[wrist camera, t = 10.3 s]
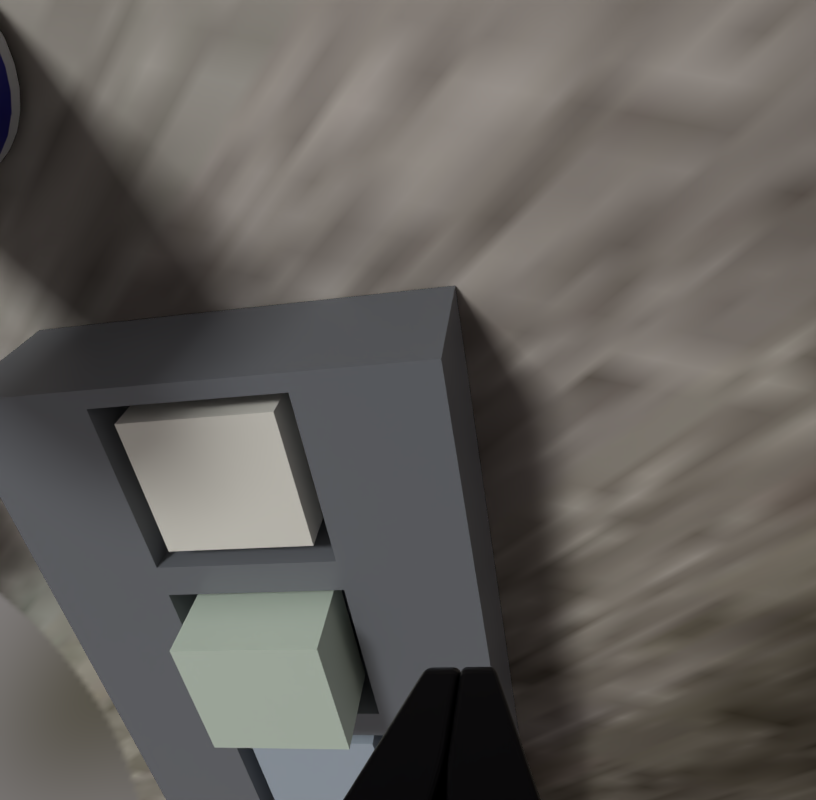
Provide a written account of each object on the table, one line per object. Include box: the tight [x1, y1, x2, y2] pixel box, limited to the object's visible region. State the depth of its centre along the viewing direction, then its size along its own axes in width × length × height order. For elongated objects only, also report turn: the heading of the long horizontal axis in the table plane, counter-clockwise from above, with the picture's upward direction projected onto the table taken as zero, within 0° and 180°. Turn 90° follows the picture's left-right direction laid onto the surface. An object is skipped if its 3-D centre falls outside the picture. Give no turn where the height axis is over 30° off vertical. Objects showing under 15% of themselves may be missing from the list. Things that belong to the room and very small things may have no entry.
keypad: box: [0, 286, 519, 800], centre depth 24 cm, size 12×24×4 cm, turn 9°
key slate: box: [253, 735, 383, 800], centre depth 25 cm, size 4×4×2 cm
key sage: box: [170, 590, 365, 750], centre depth 21 cm, size 4×4×2 cm
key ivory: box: [114, 393, 323, 552], centre depth 19 cm, size 4×4×2 cm
